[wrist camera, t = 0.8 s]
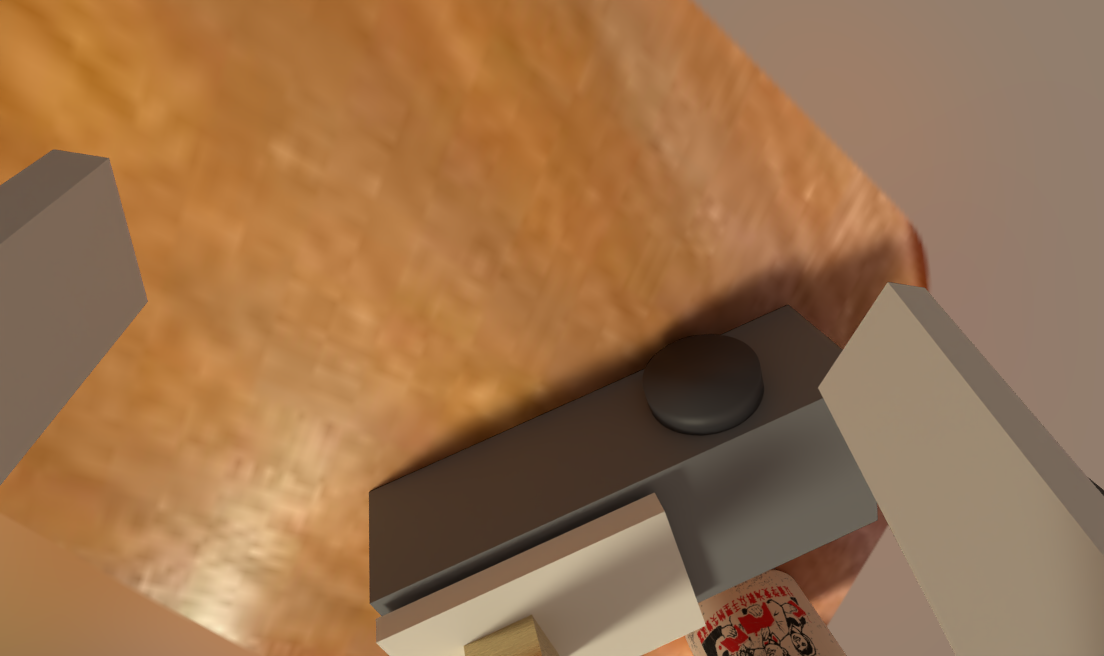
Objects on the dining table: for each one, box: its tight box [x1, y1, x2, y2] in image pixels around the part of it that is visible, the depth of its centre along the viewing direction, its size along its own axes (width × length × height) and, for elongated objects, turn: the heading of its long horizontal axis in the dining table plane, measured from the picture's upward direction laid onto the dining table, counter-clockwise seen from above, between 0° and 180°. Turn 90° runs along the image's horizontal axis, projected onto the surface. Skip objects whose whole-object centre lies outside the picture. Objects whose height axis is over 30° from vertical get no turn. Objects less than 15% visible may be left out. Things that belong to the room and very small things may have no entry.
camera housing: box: [369, 305, 878, 616], centre depth 29 cm, size 22×11×6 cm, turn 109°
